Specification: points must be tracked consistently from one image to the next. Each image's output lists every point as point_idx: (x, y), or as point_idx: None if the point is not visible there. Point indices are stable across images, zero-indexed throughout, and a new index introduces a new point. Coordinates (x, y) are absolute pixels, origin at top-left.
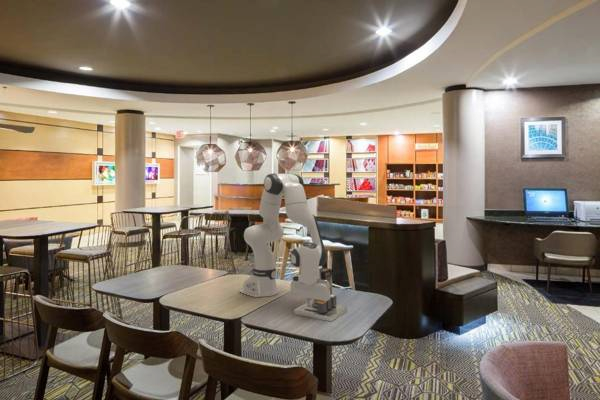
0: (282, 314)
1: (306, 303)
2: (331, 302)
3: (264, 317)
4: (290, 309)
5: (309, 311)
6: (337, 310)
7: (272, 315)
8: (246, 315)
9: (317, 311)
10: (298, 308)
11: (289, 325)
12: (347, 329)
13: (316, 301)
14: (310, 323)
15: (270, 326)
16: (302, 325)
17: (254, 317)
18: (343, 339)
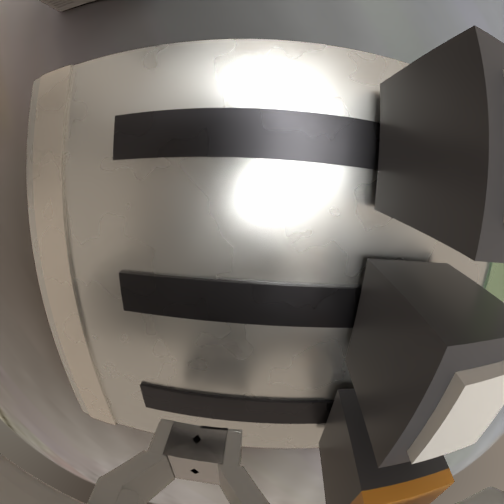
0: (63, 405)
1: (39, 224)
2: (494, 298)
3: (52, 439)
4: (21, 312)
5: (220, 427)
6: (497, 289)
7: (49, 419)
8: (7, 420)
9: (322, 449)
10: (89, 393)
11: (210, 496)
12: (494, 418)
13: (98, 62)
14: (303, 470)
15: (151, 499)
16: (271, 490)
17: (34, 437)
18: (462, 469)
